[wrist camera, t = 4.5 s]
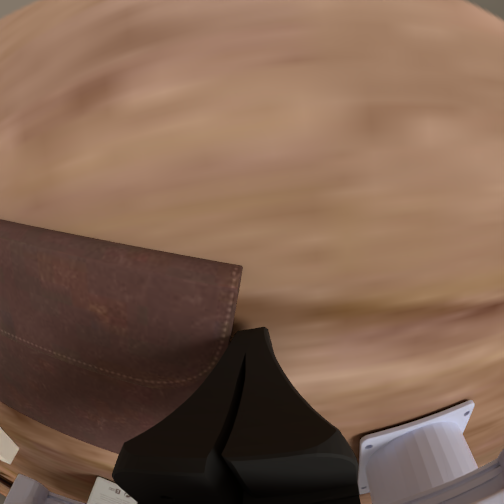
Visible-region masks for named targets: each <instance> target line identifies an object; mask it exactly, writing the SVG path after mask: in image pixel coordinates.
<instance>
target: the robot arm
mask: <svg viewBox="0 0 504 504" xmlns="http://www.w3.org/2000/svg"><path fill="white" fill-rule="evenodd" d="M474 405H475V404H474V402H473V401H472V400H468V401H466V402H463V403H461V404H459V405H456V406H454V407H451V408H449V409H446V410H444V411H441V412H438V413H436V414H433V415H430V416H427V417H425V418H422V419H419V420H416V421H413V422H410V423H407V424H403V425H400V426H397V427H394V428H390V429H387V430H383V431H379V432H376V433H372V434H368V435H365V436H363V437H362V438H361V439H360V450H359V467H358V462H357V459H356V457H355V455H354V453H353V451H352V449H351V447H350V446H349V444H348V443H347V441H346V439H345V438H344V437H343V435H342V434H341V432H340V431H339V430H338V429H337V428H336V427H334V426H333V425H332V424H330V423H329V422H328V421H327V420H325V419H324V418H323V417H322V416H321V415H320V414H319V413H317V412H316V411H315V410H314V409H313V408H312V407H311V406H310V405H309V404H308V403H307V401H306V400H305V399H304V398H303V397H302V396H301V395H300V394H299V393H298V391H297V390H296V389H295V388H294V386H293V385H292V384H291V382H290V381H289V379H288V378H287V376H286V375H285V373H284V372H283V370H282V368H281V367H280V365H279V363H278V361H277V359H276V357H275V355H274V352H273V348H272V344H271V340H270V336H269V332H268V329H267V328H265V327H261V328H255V329H249V330H242V331H237V333H236V334H235V335H234V337H233V339H232V341H231V342H230V344H229V346H228V347H227V349H226V351H225V352H224V354H223V355H222V357H221V358H220V360H219V361H218V363H217V364H216V366H215V367H214V369H213V370H212V371H211V373H210V374H209V375H208V376H207V378H206V379H205V380H204V382H203V383H202V384H201V385H200V386H199V388H198V389H197V390H196V391H195V392H194V393H193V394H192V395H191V396H190V397H189V398H188V399H187V400H186V401H185V402H184V403H183V404H181V405H180V406H179V407H178V408H177V409H176V410H175V411H173V412H172V413H171V414H170V415H168V416H167V417H166V418H164V419H163V420H162V421H160V422H159V423H157V424H156V425H154V426H153V427H151V428H150V429H148V430H147V431H145V432H143V433H141V434H139V435H138V436H136V437H134V438H132V439H130V440H128V441H126V442H124V444H123V446H122V448H121V451H120V453H119V456H118V459H117V461H116V464H115V467H114V470H113V473H112V477H113V479H114V481H115V483H116V484H117V485H118V486H119V487H120V488H121V489H122V490H123V491H125V492H126V493H127V494H128V495H129V496H131V497H132V498H133V499H134V500H135V501H137V502H138V503H137V504H360V498H359V494H365V493H369V492H370V495H371V500H372V504H504V449H503V450H502V451H501V452H500V454H499V456H498V458H497V459H495V460H493V461H491V462H490V463H488V464H486V465H484V466H482V467H480V468H478V467H477V464H476V462H475V460H474V458H473V455H472V453H471V451H470V449H469V447H468V445H467V443H466V440H465V438H464V436H463V432H464V429H465V427H466V425H467V422H468V420H469V418H470V415H471V413H472V410H473V408H474ZM357 481H358V482H357ZM4 504H86V503H83V502H80V501H76V500H73V499H70V498H67V497H64V496H61V495H58V494H55V493H52V492H50V491H48V489H47V488H46V487H44V486H43V485H42V484H41V483H39V482H38V481H36V480H34V479H32V478H29V477H27V476H24V475H22V474H18V475H17V477H16V479H15V481H14V483H13V485H12V487H11V489H10V491H9V493H8V495H7V497H6V499H5V501H4Z"/></svg>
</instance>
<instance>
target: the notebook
mask: <svg viewBox="0 0 504 504" xmlns="http://www.w3.org/2000/svg"><path fill="white" fill-rule="evenodd" d="M242 268H243V267H242V266H239V265H233V264H228V263H222V262H217V261H211V260H206V259H200V258H195V257H189V256H184V255H178V254H173V253H167V252H162V251H157V250H151V249H146V248H141V247H135V246H130V245H125V244H120V243H114V242H109V241H104V240H99V239H94V238H89V237H84V236H79V235H74V234H69V233H64V232H59V231H54V230H49V229H44V228H39V227H34V226H29V225H24V224H19V223H15V222H10V221H5V220H0V401H1V402H2V403H4V404H6V405H8V406H9V407H11V408H13V409H15V410H17V411H18V412H20V413H22V414H24V415H26V416H28V417H30V418H32V419H34V420H36V421H38V422H40V423H42V424H44V425H46V426H48V427H51V428H53V429H55V430H57V431H59V432H62V433H64V434H66V435H69V436H71V437H74V438H76V439H78V440H81V441H84V442H86V443H89V444H91V445H94V446H97V447H100V448H102V449H105V450H108V451H111V452H114V453H117V454H119V453H120V451H121V448H122V446H123V444H124V442H126V441H128V440H130V439H132V438H134V437H136V436H138V435H139V434H141V433H143V432H145V431H147V430H148V429H150V428H151V427H153V426H154V425H156V424H157V423H159V422H160V421H162V420H163V419H164V418H166V417H167V416H168V415H170V414H171V413H172V412H173V411H175V410H176V409H177V408H178V407H179V406H180V405H181V404H183V403H184V402H185V401H186V400H187V399H188V398H189V397H190V396H191V395H192V394H193V393H194V392H195V391H196V390H197V389H198V388H199V386H200V385H201V384H202V383H203V382H204V380H205V379H206V378H207V376H208V375H209V374H210V373H211V371H212V370H213V369H214V367H215V366H216V364H217V363H218V361H219V360H220V358H221V357H222V355H223V354H224V352H225V351H226V349H227V347H228V346H229V343H230V338H231V332H232V326H233V321H234V315H235V309H236V304H237V298H238V293H239V287H240V281H241V275H242Z"/></svg>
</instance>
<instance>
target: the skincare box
mask: <svg viewBox="0 0 504 504" xmlns="http://www.w3.org/2000/svg"><path fill="white" fill-rule="evenodd" d="M87 504H137V501H135V500H134V499H133V498H132V497H131V496H129V495H128V494H127V493H126V492H125V491H123V490H122V489H121V488H120V487H119V486H118V485H117V484H116V483H113V482H111V481H108V480H106V479H104V478H101V477H97V478H96V481H95V483H94V486H93V488H92V491H91V493H90V496H89V499H88V501H87Z"/></svg>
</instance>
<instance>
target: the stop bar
mask: <svg viewBox="0 0 504 504" xmlns="http://www.w3.org/2000/svg"><path fill="white" fill-rule="evenodd" d="M18 450H19V447H18V446H17V445H16V444H15V443H14V442H13V441H12V440H11V439H10V438H9V436H8V435H7V434H6V433H5V432H4V431H3V430H2V429H1V427H0V460H1V461H4V462H6V463H8V464H11V462H12V461H13V459H14V457H15V455H16V454H17V452H18Z"/></svg>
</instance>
